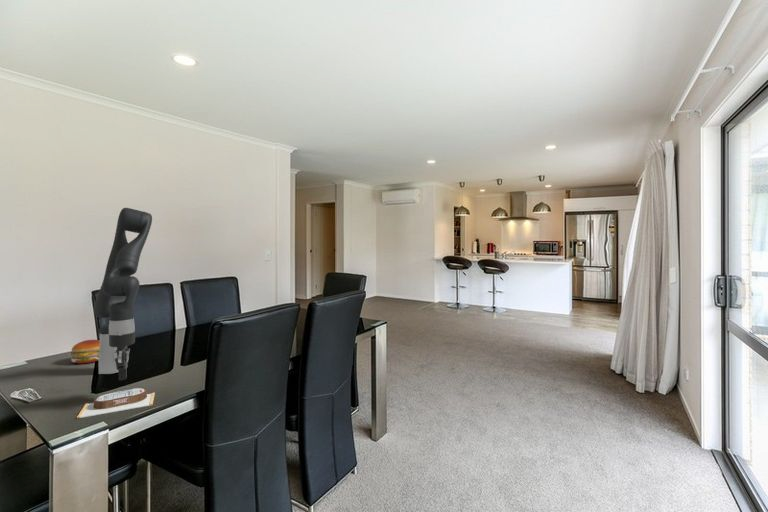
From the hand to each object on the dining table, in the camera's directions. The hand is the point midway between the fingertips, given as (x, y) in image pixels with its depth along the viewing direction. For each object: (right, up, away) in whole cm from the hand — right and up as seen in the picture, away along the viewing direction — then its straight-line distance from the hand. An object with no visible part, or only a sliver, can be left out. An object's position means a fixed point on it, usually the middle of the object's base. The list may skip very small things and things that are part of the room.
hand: (122, 379), depth 127 cm
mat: (+3, -7, -6) cm, 10 cm away
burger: (-48, -6, +43) cm, 64 cm away
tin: (0, -5, 0) cm, 5 cm away
